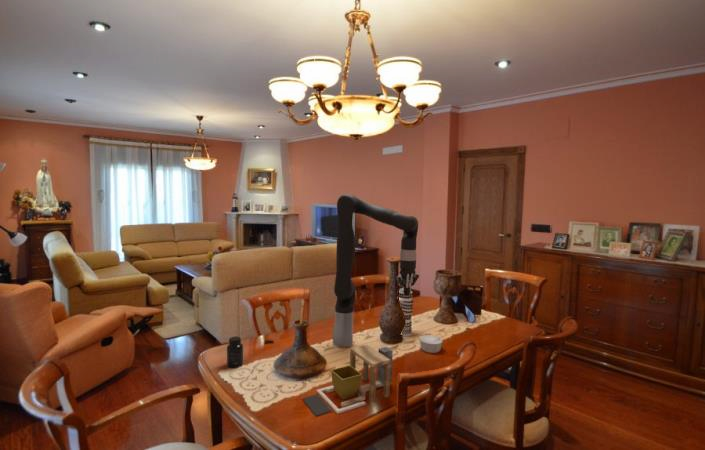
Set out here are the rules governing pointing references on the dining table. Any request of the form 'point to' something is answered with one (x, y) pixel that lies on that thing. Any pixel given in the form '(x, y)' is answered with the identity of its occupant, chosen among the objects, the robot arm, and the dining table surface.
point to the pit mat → (316, 405)
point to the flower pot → (346, 381)
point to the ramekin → (430, 343)
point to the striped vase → (406, 310)
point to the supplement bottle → (235, 352)
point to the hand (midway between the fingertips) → (406, 295)
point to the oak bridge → (372, 367)
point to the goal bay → (320, 392)
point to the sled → (362, 389)
